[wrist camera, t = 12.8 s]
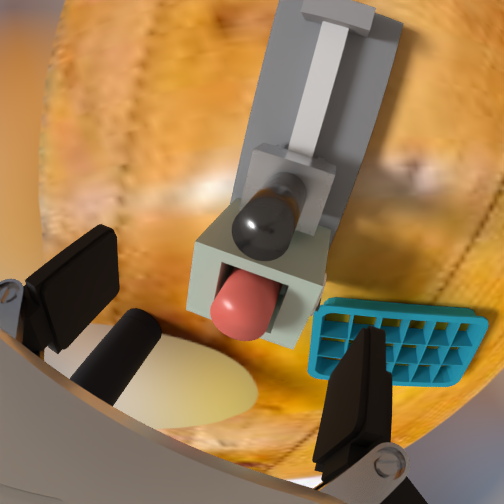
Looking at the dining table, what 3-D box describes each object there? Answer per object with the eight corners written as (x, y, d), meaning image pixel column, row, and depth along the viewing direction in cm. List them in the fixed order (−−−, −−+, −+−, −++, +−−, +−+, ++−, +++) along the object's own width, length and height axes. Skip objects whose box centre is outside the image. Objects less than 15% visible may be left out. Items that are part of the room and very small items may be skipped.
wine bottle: (153, 309, 42) (22, 484, 17) (167, 343, 45) (59, 508, 19) (120, 306, 44) (-6, 456, 19) (135, 338, 47) (28, 483, 21)
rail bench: (402, 27, 18) (434, -7, 10) (316, 279, 32) (301, 352, 23) (285, -6, 20) (251, -53, 11) (224, 246, 33) (180, 307, 25)
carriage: (336, 162, 24) (330, 211, 15) (318, 215, 27) (300, 290, 18) (266, 140, 25) (216, 174, 16) (253, 194, 28) (202, 254, 18)
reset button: (291, 259, 24) (274, 307, 19) (277, 298, 26) (259, 348, 21) (242, 242, 25) (214, 285, 20) (233, 282, 27) (206, 328, 22)
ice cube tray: (317, 287, 33) (314, 304, 31) (484, 301, 28) (492, 318, 25) (310, 359, 39) (306, 377, 36) (452, 370, 33) (455, 386, 31)
